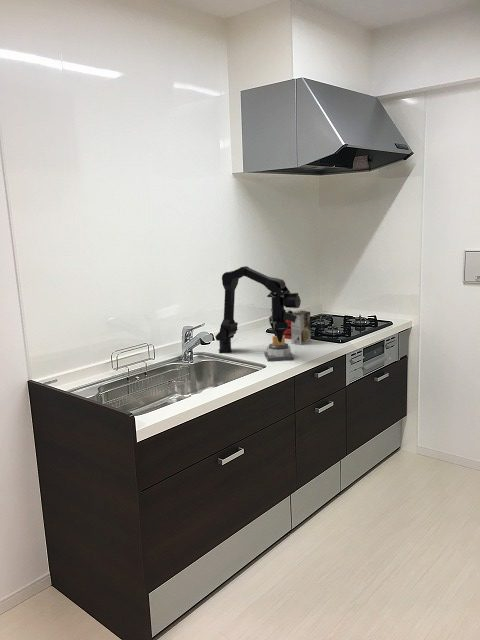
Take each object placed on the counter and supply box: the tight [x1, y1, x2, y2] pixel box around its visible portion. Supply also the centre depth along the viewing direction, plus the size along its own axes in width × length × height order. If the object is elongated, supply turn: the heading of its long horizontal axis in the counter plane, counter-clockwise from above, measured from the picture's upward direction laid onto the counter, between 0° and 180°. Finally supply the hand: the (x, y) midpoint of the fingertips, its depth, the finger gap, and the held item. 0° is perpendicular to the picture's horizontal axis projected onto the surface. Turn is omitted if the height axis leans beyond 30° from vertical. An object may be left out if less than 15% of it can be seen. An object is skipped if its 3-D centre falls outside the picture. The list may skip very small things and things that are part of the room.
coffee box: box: [291, 310, 312, 346], centre depth 280 cm, size 9×6×16 cm
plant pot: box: [283, 320, 292, 340], centre depth 294 cm, size 13×13×12 cm
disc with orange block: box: [268, 335, 289, 349], centre depth 252 cm, size 9×9×7 cm
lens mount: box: [263, 344, 295, 362], centre depth 253 cm, size 12×12×5 cm
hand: (278, 340), depth 252 cm, fingers open, 9 cm apart
